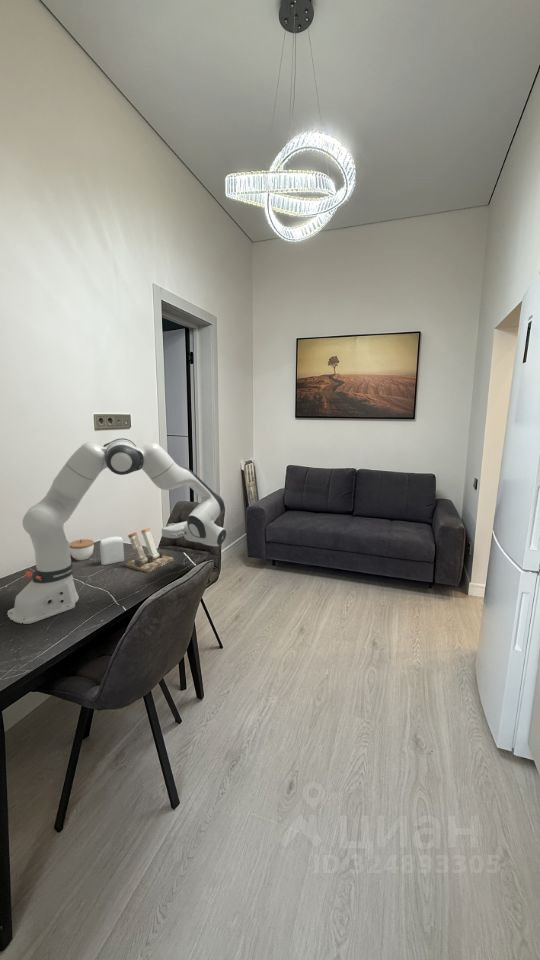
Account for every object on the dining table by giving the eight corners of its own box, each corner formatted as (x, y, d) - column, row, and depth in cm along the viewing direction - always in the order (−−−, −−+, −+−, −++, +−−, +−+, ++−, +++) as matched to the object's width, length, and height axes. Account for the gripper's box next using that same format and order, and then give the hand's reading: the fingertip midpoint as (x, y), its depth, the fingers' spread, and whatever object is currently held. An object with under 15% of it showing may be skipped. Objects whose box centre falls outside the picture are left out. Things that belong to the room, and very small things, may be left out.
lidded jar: (75, 554, 189) (73, 536, 187) (97, 553, 190) (96, 535, 188) (66, 562, 178) (64, 543, 177) (90, 561, 179) (88, 543, 178)
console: (147, 572, 168) (145, 539, 165) (125, 566, 175) (123, 533, 172) (173, 561, 182) (172, 529, 179) (152, 555, 188) (151, 525, 186)
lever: (153, 559, 176) (143, 529, 177) (150, 560, 178) (140, 531, 178) (160, 556, 180) (150, 527, 181) (156, 557, 181) (146, 529, 182)
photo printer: (102, 566, 175) (100, 540, 172) (100, 563, 178) (98, 537, 176) (125, 561, 180) (123, 536, 178) (123, 558, 184) (121, 534, 182)
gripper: (176, 543, 155) (152, 537, 162) (208, 532, 173) (185, 527, 180) (176, 528, 154) (151, 523, 161) (208, 519, 172) (185, 514, 179)
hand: (169, 525), depth 171 cm, fingers closed
